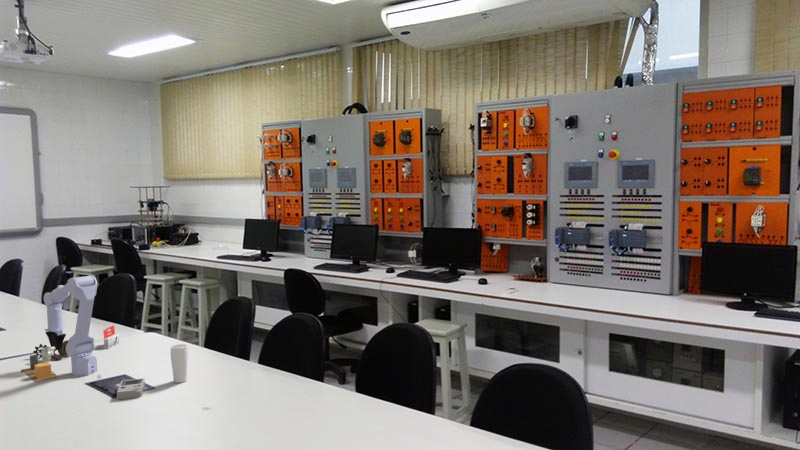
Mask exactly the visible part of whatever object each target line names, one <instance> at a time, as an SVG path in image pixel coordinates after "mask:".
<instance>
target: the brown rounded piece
mask: <svg viewBox="0 0 800 450" xmlns="http://www.w3.org/2000/svg"><path fill="white" fill-rule="evenodd" d="M68 340H69V339H67V340H63V344H62V349H61V350H56V349H55V348H54V349H53V351H52V352H53V353H52V356H51V358H52V361H53V360H54V361H61V360H62V359H63V358H65V357H69V356H68V355H67V353H66V345H67V343H68ZM56 351H57V352H58V353H55V352H56Z"/></svg>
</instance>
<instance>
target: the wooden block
mask: <svg viewBox="0 0 800 450" xmlns="http://www.w3.org/2000/svg"><path fill="white" fill-rule="evenodd" d="M36 364H39V362H38V357H37V355H36V354H31V355H29V366H30V367H28V368H22V369H20V373H22V374H23V373H24V374H25V375H26V376H27V377H29V379H30V380H32V381H33V382H34V383H38V382H43V381H48V380H52V379H56V378H60V376H59V375H57V374H56V373H55V372H53V371H52V370H51V376H49V377H45V378H40V379H38V378H36V377H35V368H34V365H36Z"/></svg>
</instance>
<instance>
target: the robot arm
mask: <svg viewBox="0 0 800 450" xmlns="http://www.w3.org/2000/svg"><path fill="white" fill-rule="evenodd" d="M97 289H98V281H97V278H96V277H95V276H94V275H92V274H90V275H87V276H77V277H71V278H68V280H67V283H65V285H63V284H60V285H57V287H56V288H55V289H53V290H52V291H50V292H45V293H44V295H43V302H44V305H45V306H46V317H47V318H46V319H47V328H44V332H45V335H46V336H47V339H48V341H49V345H50V347H51V348H53V347H54V349H56V351H58V350H61V349H62V344H63V342H64V341H65V340H64V339H65V338H66V336H67V333H63V330H64V327H63V312H62V311H63V309H62V308H63V307H64V302H65V299H66V298H68V297H69V296H70V295H72V296H73V297H74V299H75V300H77V301H79V304H78V311H77V317H76V323H75V331H74V333H73V335H71V336H70V337H69V338H68V339H67V340H68V343H67V345H66V353H67V355H68V356H67V357H69V358H70V359H71V361H70V362H71V375H72V376H77V377H79V376H86V377H87V376H88V377H89V376H90V375H93V374H95V373H97V372H98V360H97V357H96V356H95V355H92V353H93V352H94V349H95V343H94V342H95V338H94V336H93V335H92V334H90V326H91V321H92V316H93V315H92V314H93V310H94V309H93V307H94V303H95V302H94V301H95V297H96V295H97V291H98V290H97Z"/></svg>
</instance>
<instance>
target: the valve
mask: <svg viewBox="0 0 800 450" xmlns="http://www.w3.org/2000/svg"><path fill="white" fill-rule="evenodd" d="M34 349H35V350H33V352H32V353H33V354H35V355H37V358H38V356H39V358H40V359H41V358H42V363H46V362H48V363H50V362H52V361H53V359H52V358H51V356H52V355H53V353H52V352H53V351H52V347H51V346H48V345H47V344H44V345H43V344H42V343H40V344H39V346H38V345H37V346H35V347H34Z"/></svg>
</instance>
